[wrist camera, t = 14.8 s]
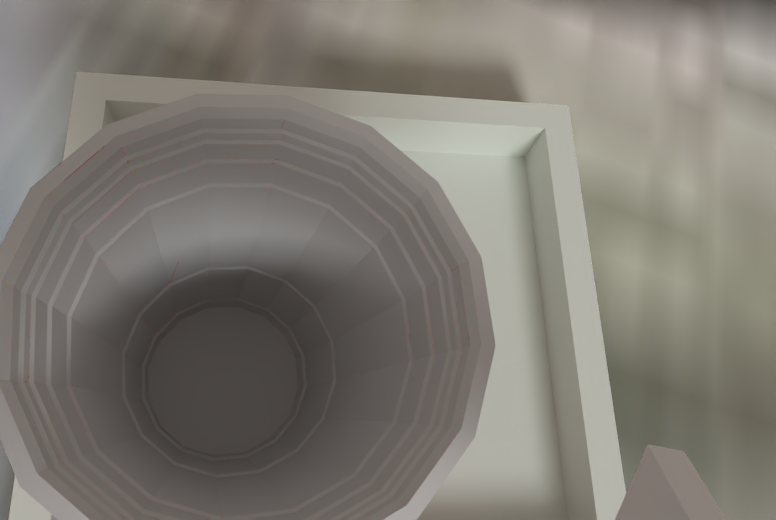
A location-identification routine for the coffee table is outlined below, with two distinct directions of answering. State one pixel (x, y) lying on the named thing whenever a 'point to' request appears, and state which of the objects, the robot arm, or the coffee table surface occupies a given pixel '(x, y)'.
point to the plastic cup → (239, 321)
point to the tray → (502, 276)
